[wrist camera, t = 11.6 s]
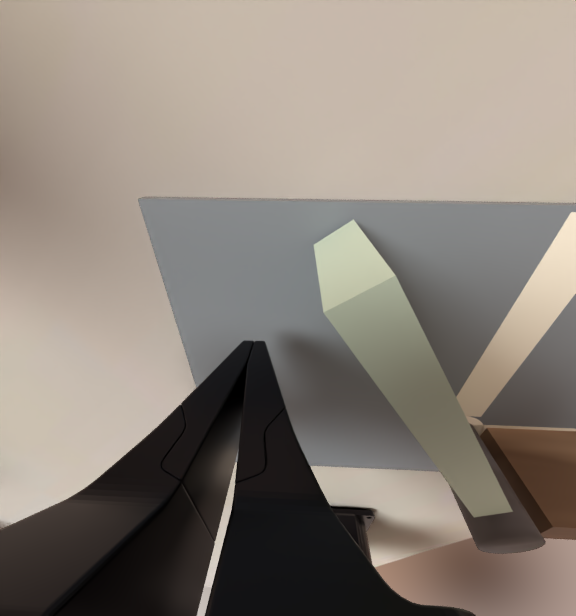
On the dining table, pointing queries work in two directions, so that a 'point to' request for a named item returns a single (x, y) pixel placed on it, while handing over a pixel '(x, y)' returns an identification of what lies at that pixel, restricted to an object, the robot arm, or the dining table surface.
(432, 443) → the swing panel
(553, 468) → the brown wooden bar
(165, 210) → the card
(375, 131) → the dining table surface
